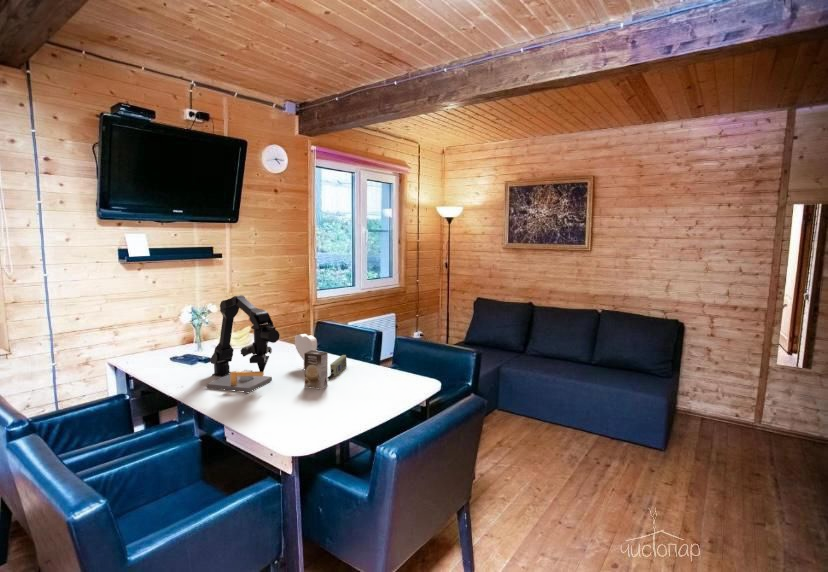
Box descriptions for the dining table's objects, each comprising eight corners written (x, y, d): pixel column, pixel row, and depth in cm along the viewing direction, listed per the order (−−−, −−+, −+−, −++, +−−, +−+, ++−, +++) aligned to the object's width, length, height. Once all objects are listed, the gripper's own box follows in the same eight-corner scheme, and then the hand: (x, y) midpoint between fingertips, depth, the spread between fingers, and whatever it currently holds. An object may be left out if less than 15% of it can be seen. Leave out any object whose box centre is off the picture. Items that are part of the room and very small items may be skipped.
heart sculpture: (318, 370, 232) (318, 336, 230) (310, 372, 228) (310, 338, 226) (301, 364, 242) (301, 332, 241) (293, 366, 239) (293, 333, 237)
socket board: (206, 388, 202) (206, 383, 202) (232, 376, 219) (232, 372, 219) (248, 392, 196) (248, 388, 196) (271, 380, 213) (271, 376, 213)
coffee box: (303, 387, 205) (303, 353, 203) (311, 383, 211) (310, 349, 209) (321, 389, 202) (320, 354, 200) (328, 385, 208) (328, 351, 206)
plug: (240, 384, 208) (239, 372, 207) (245, 382, 212) (245, 369, 211) (247, 385, 207) (247, 372, 206) (252, 382, 210) (252, 370, 210)
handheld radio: (347, 367, 240) (332, 380, 216) (341, 366, 241) (325, 380, 216) (347, 354, 240) (331, 367, 215) (341, 354, 240) (325, 367, 216)
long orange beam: (232, 383, 201) (231, 371, 201) (264, 383, 202) (263, 371, 202) (230, 385, 199) (229, 373, 198) (262, 385, 200) (262, 372, 199)
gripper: (247, 335, 208) (248, 367, 210) (236, 344, 190) (237, 380, 192) (271, 334, 210) (272, 366, 212) (263, 344, 191) (264, 379, 193)
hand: (261, 373), depth 202 cm, fingers closed
